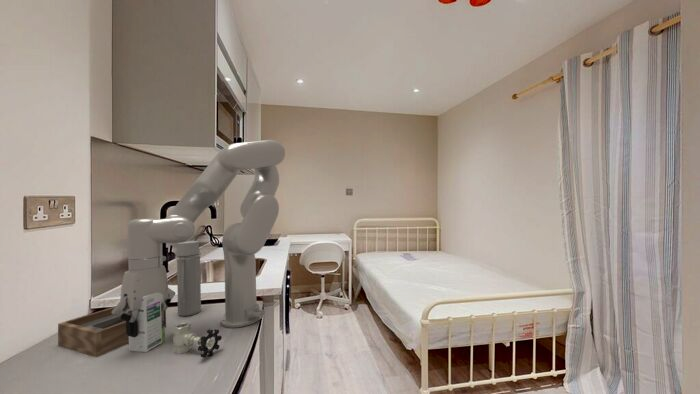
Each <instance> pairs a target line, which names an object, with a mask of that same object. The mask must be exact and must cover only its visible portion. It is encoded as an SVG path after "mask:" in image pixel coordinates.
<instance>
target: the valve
mask: <svg viewBox="0 0 700 394" xmlns="http://www.w3.org/2000/svg"><path fill="white" fill-rule="evenodd" d="M191 326H192V324H191V322H180V323H178V324H176V325H175V326H174V327H173V338H172V343H173V345H174V347H173V352H174V354H178V355H181V353H182V354H184V352H185V353H188V352H189V351H190V350H191V348H192V347H193V346H195V345H196V346H197V345H198V347H197V351H199V352H203V353H200V357H201V358H204V359H205V358H207V357H209V358H211V357H213V356H214V351H215V350H219V349H220V344H218V343H219V341H221V340H222V339H223V336H222V335H218V334H219V333H220V330H219V329H217V328H215V329H210V328H209V329H207V330H206V334H207V335H206V336H204V335H202V336H201V337H200V336H198V334H197V333H194V332H191V329H192V327H191ZM212 338H214V339H212ZM209 347H210V348H209ZM189 349H190V350H189ZM187 351H188V352H187Z"/></svg>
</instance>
